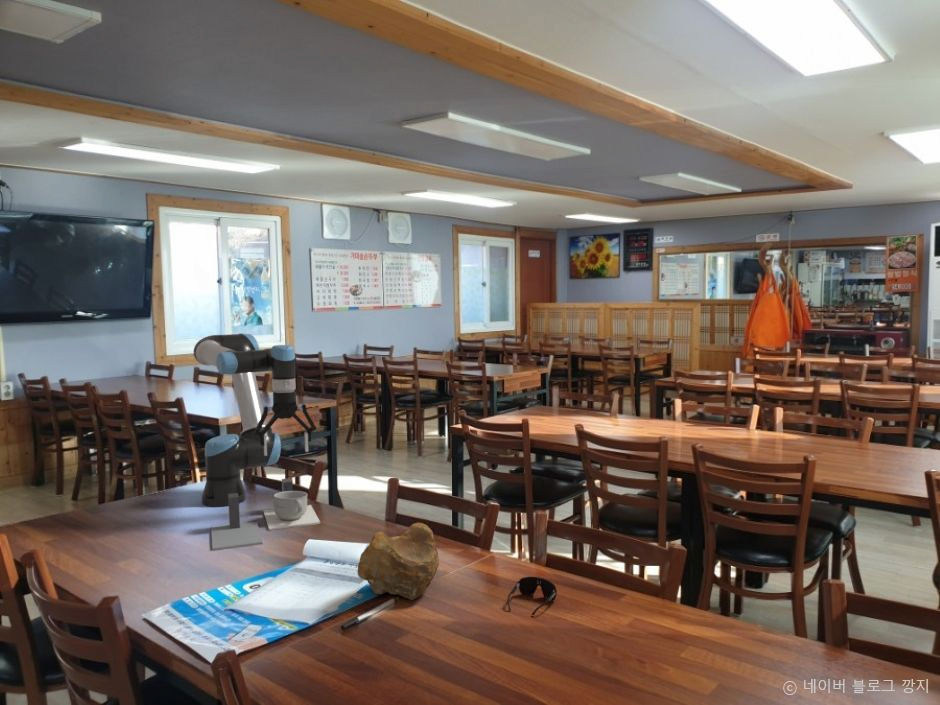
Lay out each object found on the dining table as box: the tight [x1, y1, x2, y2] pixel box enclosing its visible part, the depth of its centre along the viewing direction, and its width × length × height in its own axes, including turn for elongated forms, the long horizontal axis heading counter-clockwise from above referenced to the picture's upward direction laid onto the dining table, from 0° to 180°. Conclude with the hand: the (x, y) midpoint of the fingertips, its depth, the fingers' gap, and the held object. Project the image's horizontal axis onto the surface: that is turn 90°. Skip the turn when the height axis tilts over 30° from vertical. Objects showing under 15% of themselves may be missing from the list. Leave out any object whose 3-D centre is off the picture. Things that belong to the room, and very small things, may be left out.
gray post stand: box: [210, 493, 263, 551], centre depth 216 cm, size 21×14×11 cm, turn 21°
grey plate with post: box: [263, 477, 321, 531], centre depth 234 cm, size 21×16×11 cm
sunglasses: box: [506, 576, 558, 616], centre depth 167 cm, size 10×12×5 cm
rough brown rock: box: [357, 522, 440, 601], centre depth 175 cm, size 23×17×15 cm
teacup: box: [273, 490, 308, 520], centre depth 230 cm, size 14×11×8 cm
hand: (286, 453), depth 238 cm, fingers open, 13 cm apart
